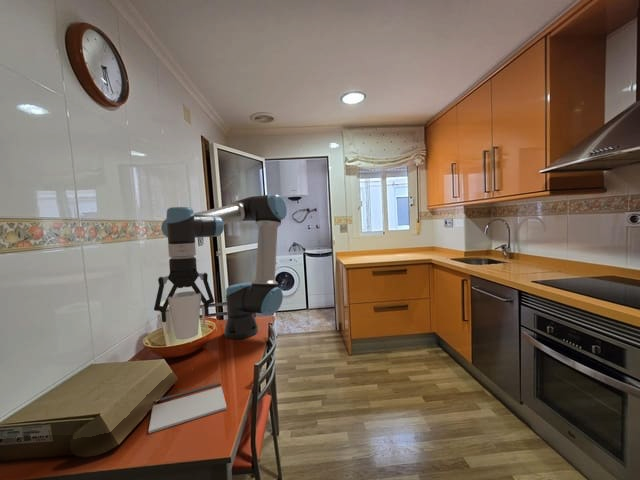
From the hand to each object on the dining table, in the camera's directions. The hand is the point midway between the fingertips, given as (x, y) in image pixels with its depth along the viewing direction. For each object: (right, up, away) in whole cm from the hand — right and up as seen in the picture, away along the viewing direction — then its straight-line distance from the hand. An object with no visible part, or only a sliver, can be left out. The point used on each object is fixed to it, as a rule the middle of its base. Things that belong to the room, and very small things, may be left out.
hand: (186, 328), depth 87 cm
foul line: (+2, -18, -3) cm, 18 cm away
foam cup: (0, -2, 0) cm, 2 cm away
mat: (+6, -18, -11) cm, 22 cm away
